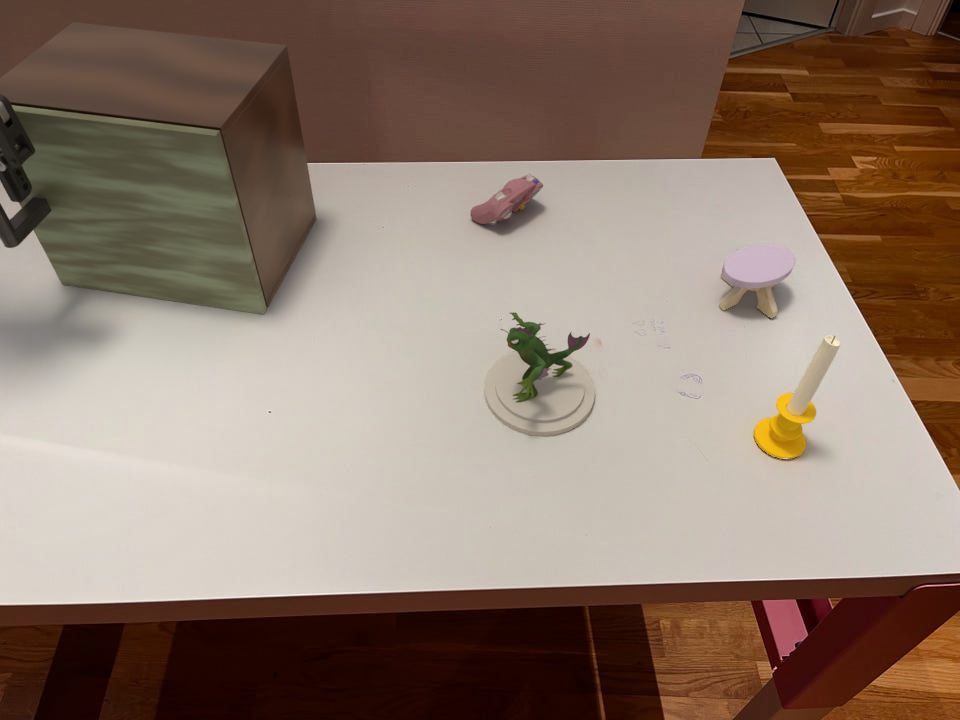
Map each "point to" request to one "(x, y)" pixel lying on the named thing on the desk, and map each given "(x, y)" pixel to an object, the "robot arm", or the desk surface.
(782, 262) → the toy table
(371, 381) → the desk surface
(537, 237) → the desk surface
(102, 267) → the cupboard door
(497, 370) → the monster figurine
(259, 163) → the cupboard
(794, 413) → the candle
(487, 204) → the pink toy car
